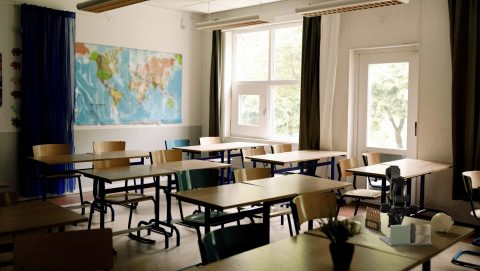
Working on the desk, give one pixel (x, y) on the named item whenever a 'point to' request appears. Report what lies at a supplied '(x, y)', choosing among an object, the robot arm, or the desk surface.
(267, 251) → the desk surface
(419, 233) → the fixed fence panel
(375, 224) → the ammunition clip
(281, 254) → the desk surface
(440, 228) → the cream rounded piece
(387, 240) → the card
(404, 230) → the panel
